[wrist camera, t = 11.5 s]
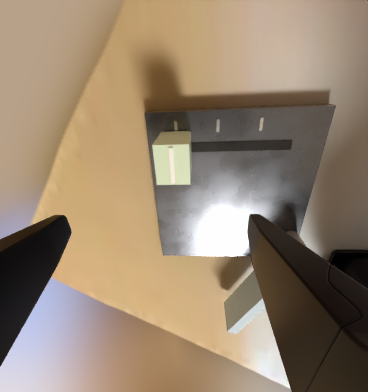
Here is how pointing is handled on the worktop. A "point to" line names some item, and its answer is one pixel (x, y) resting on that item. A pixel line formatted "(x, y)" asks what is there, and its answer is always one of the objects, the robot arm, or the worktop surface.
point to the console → (238, 174)
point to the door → (246, 301)
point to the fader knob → (173, 158)
